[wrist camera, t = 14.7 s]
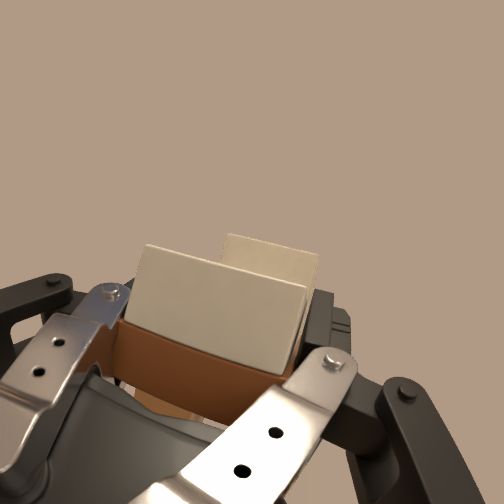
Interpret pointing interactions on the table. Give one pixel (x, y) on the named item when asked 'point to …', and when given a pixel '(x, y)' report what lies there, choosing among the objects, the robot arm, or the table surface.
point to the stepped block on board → (214, 325)
